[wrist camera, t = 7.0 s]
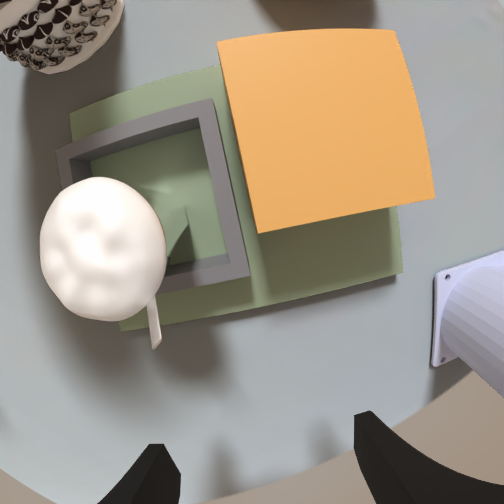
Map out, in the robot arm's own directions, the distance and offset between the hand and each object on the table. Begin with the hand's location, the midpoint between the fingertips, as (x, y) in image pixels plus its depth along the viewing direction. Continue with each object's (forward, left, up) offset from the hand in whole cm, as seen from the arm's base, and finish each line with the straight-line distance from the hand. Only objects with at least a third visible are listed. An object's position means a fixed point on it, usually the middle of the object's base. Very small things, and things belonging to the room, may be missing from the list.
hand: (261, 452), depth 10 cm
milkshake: (+3, -8, -9) cm, 12 cm away
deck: (-1, -9, -10) cm, 14 cm away
